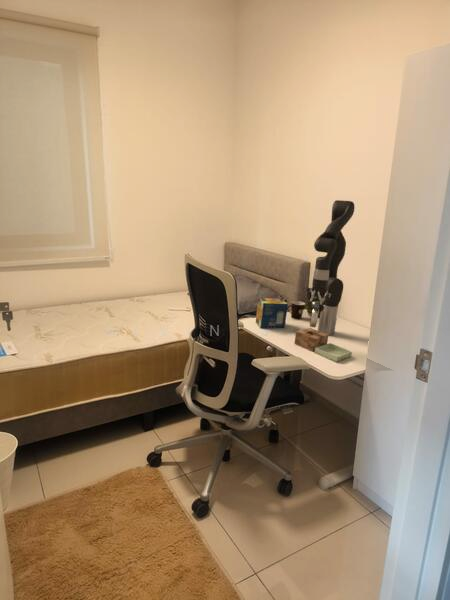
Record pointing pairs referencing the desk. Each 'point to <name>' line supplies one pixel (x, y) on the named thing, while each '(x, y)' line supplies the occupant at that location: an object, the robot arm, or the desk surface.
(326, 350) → the sage tray
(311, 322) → the steel pin
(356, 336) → the desk surface
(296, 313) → the coffee mug
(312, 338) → the brown wooden block
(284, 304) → the protein box
